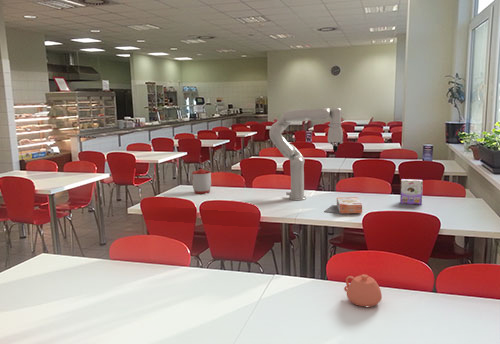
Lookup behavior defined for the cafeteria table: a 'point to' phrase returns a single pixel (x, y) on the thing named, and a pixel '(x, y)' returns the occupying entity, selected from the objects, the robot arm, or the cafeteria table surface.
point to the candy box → (411, 191)
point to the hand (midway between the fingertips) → (335, 151)
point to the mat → (334, 210)
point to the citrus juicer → (201, 181)
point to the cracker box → (349, 205)
